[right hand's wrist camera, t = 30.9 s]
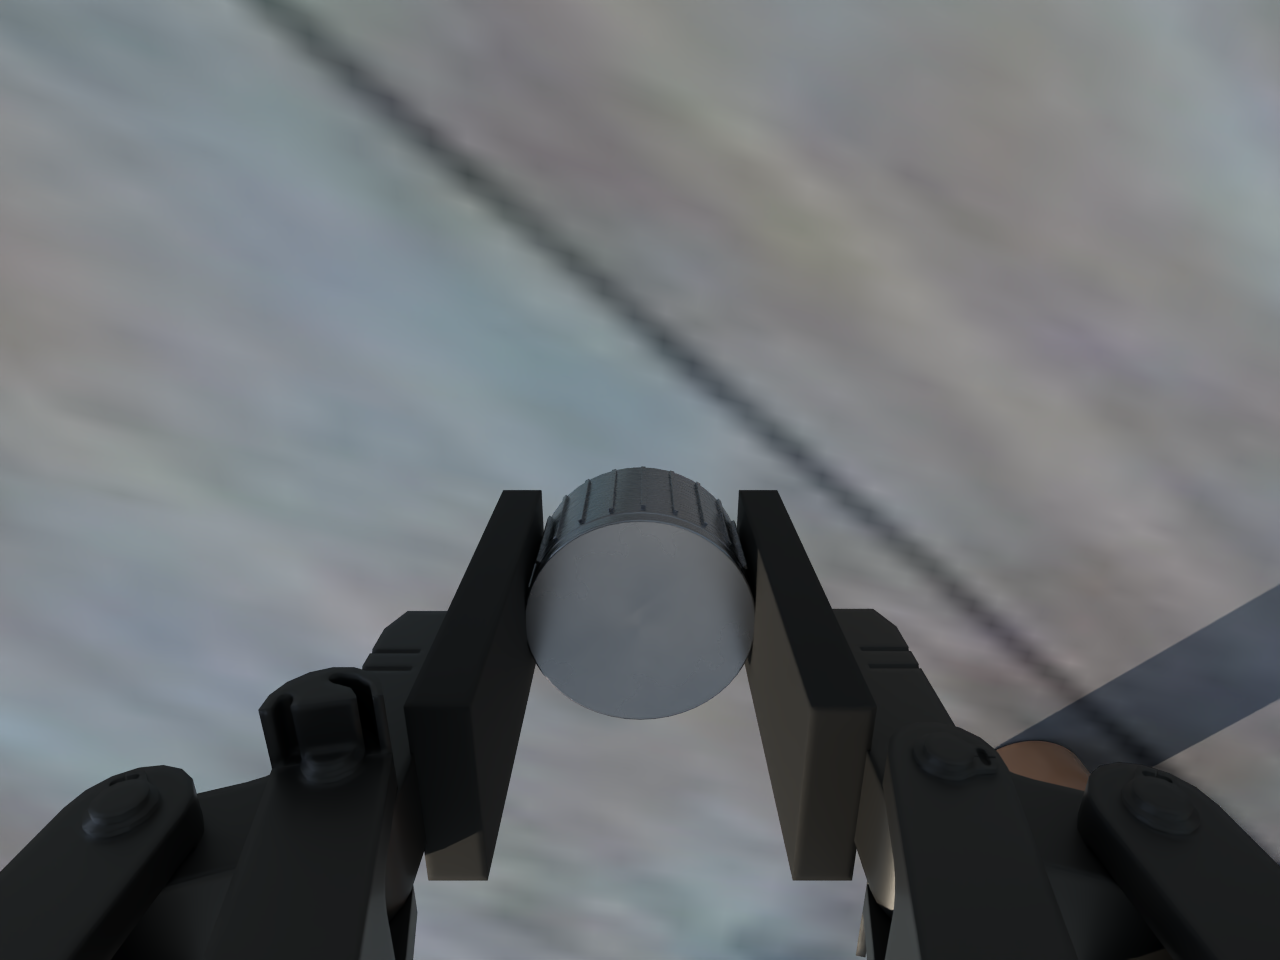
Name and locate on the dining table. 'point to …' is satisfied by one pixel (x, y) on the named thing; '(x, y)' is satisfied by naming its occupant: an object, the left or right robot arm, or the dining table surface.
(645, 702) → the cap
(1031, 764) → the ringed wooden cylinder
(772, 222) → the dining table surface
